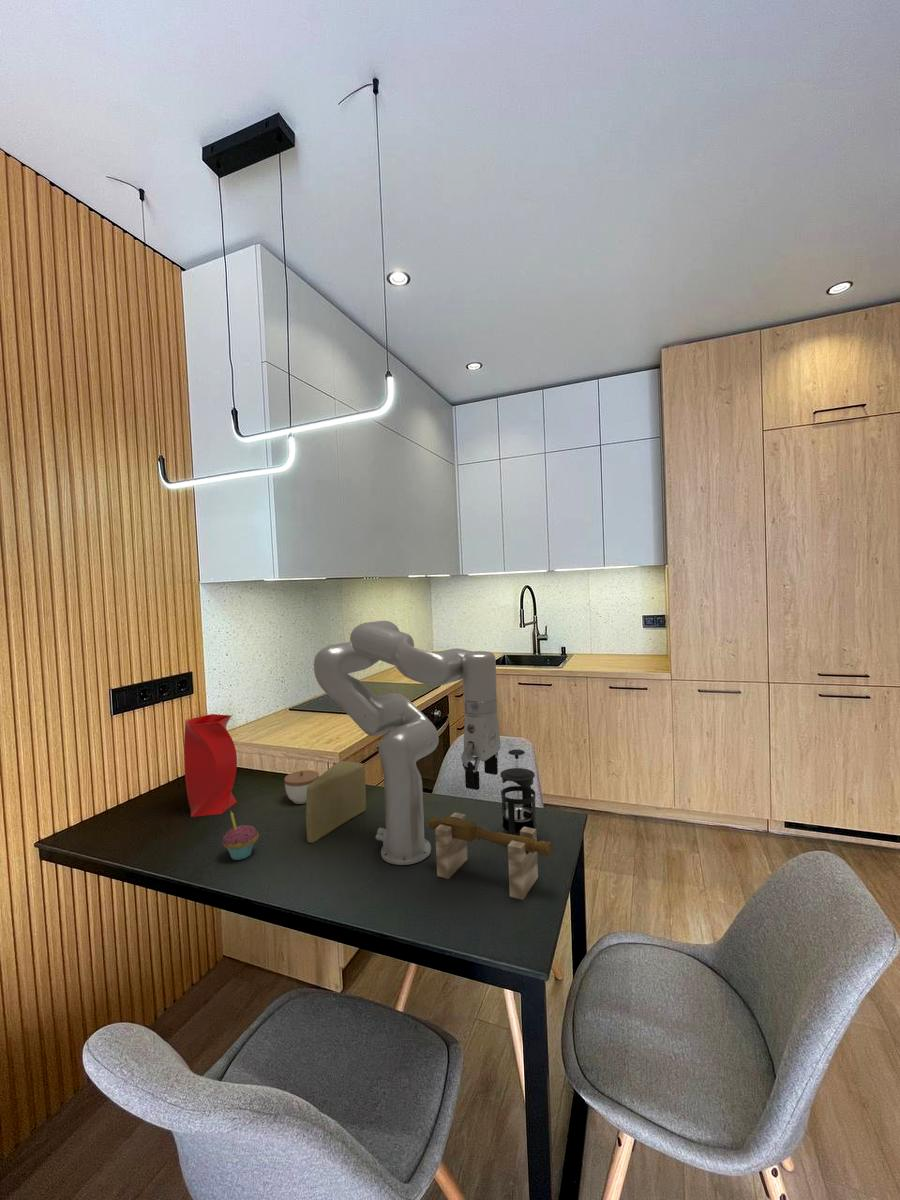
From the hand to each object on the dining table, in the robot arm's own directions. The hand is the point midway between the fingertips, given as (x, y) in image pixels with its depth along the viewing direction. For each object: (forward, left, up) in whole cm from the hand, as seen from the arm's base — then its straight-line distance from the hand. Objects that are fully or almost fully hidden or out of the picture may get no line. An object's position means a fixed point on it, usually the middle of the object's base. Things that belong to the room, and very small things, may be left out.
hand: (482, 780), depth 115 cm
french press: (0, +20, -22) cm, 30 cm away
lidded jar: (-72, +14, -22) cm, 76 cm away
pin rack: (0, 0, -22) cm, 22 cm away
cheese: (-50, +5, -22) cm, 55 cm away
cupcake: (-61, -18, -22) cm, 67 cm away
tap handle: (0, 0, -14) cm, 14 cm away
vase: (-95, -3, -22) cm, 97 cm away
